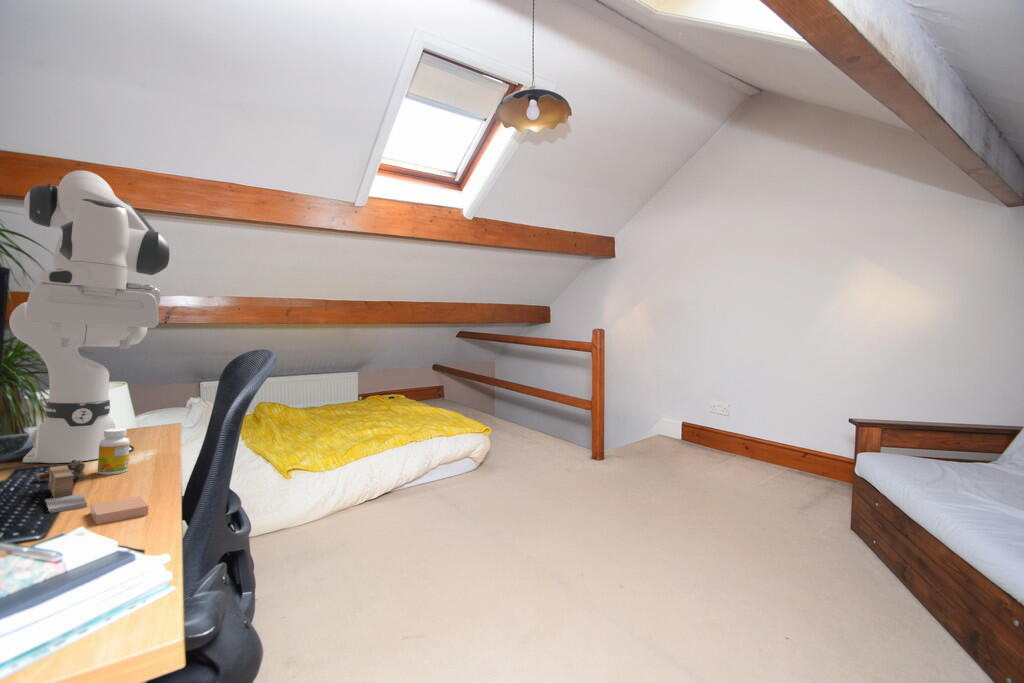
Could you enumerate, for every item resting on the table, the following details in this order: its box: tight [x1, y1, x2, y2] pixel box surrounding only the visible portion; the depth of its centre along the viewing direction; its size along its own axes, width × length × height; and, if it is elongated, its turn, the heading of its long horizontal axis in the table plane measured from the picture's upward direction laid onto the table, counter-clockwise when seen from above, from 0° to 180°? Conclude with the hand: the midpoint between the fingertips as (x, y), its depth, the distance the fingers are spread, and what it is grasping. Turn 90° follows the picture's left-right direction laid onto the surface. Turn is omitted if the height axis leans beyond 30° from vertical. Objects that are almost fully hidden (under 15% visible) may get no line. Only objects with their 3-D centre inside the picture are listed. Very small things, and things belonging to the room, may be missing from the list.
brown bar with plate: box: [44, 464, 88, 514], centre depth 91 cm, size 17×5×4 cm, turn 49°
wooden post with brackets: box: [35, 460, 86, 481], centre depth 101 cm, size 2×8×4 cm, turn 104°
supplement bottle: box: [97, 427, 131, 476], centre depth 109 cm, size 5×5×10 cm
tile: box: [89, 495, 149, 525], centre depth 84 cm, size 2×7×7 cm
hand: (94, 347), depth 96 cm, fingers open, 8 cm apart
